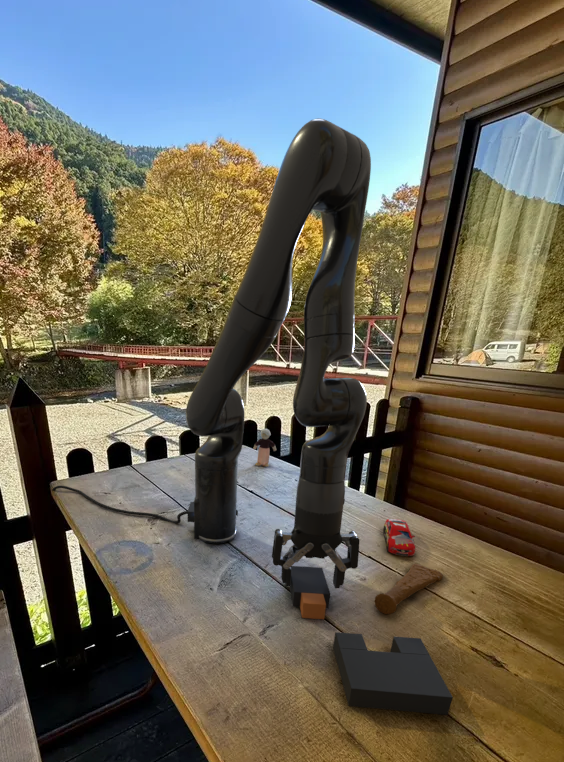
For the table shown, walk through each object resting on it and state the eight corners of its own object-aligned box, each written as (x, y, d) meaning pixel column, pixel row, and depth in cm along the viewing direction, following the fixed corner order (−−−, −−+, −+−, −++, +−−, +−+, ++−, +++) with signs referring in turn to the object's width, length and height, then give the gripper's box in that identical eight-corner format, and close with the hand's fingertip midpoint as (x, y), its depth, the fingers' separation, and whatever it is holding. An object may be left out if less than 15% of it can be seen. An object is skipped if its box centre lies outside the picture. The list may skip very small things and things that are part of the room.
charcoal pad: (294, 617, 68) (296, 602, 67) (288, 579, 78) (289, 565, 77) (331, 620, 67) (333, 605, 66) (320, 581, 77) (322, 567, 76)
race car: (415, 561, 83) (419, 544, 82) (386, 556, 85) (389, 540, 83) (407, 531, 95) (410, 515, 93) (382, 527, 96) (384, 512, 95)
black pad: (348, 706, 52) (351, 688, 51) (332, 647, 62) (335, 631, 61) (448, 715, 51) (453, 697, 50) (416, 654, 60) (420, 638, 59)
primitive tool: (414, 565, 82) (418, 549, 80) (444, 576, 78) (448, 561, 77) (370, 609, 70) (373, 592, 68) (403, 625, 66) (407, 608, 65)
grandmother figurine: (252, 466, 137) (253, 429, 133) (252, 462, 141) (254, 426, 136) (275, 467, 136) (278, 430, 131) (275, 463, 139) (277, 427, 135)
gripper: (358, 494, 70) (347, 574, 76) (273, 492, 72) (269, 571, 77) (371, 513, 63) (358, 600, 69) (277, 510, 65) (272, 596, 70)
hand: (311, 584), depth 73 cm, fingers open, 8 cm apart
